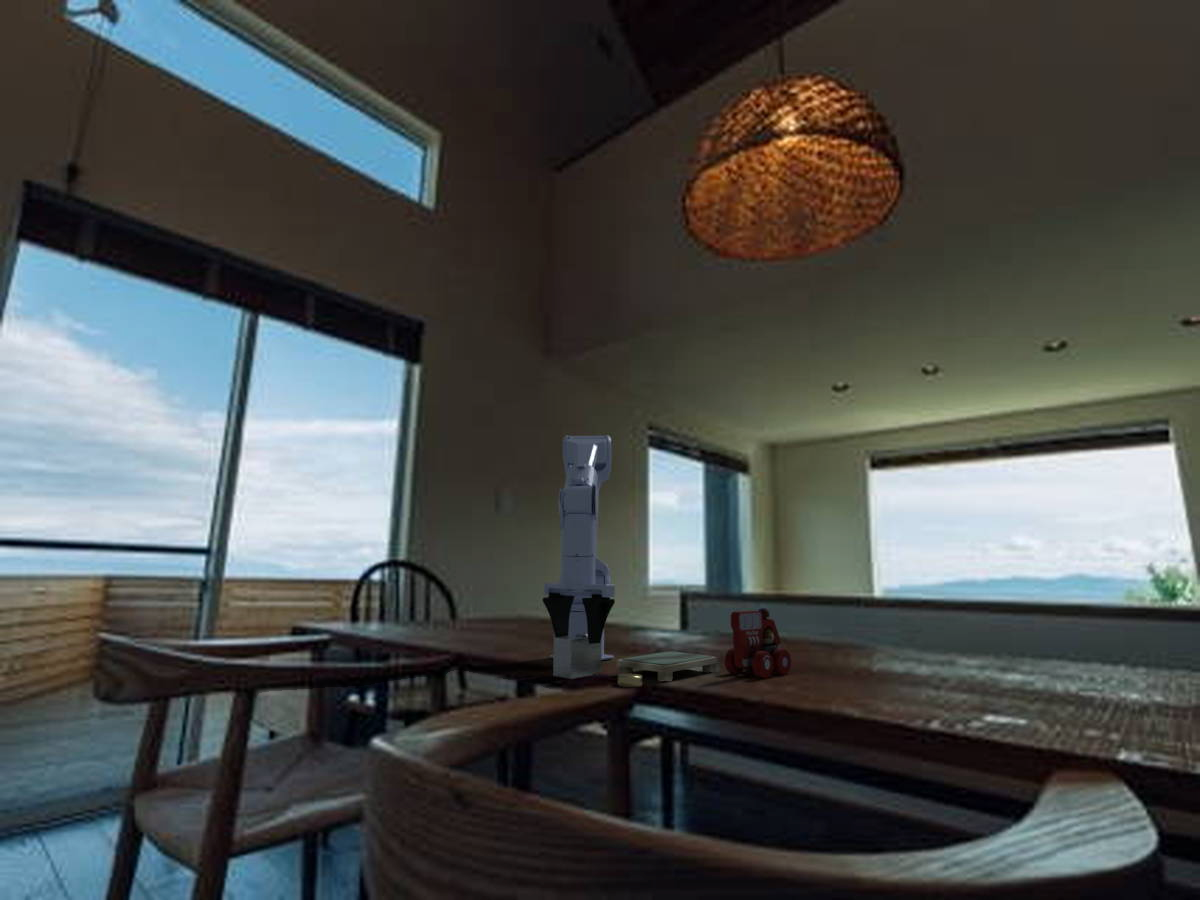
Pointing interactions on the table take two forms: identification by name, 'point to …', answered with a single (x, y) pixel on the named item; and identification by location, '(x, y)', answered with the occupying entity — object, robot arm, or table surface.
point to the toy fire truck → (756, 645)
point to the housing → (576, 656)
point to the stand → (667, 663)
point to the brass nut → (630, 680)
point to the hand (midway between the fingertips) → (577, 641)
